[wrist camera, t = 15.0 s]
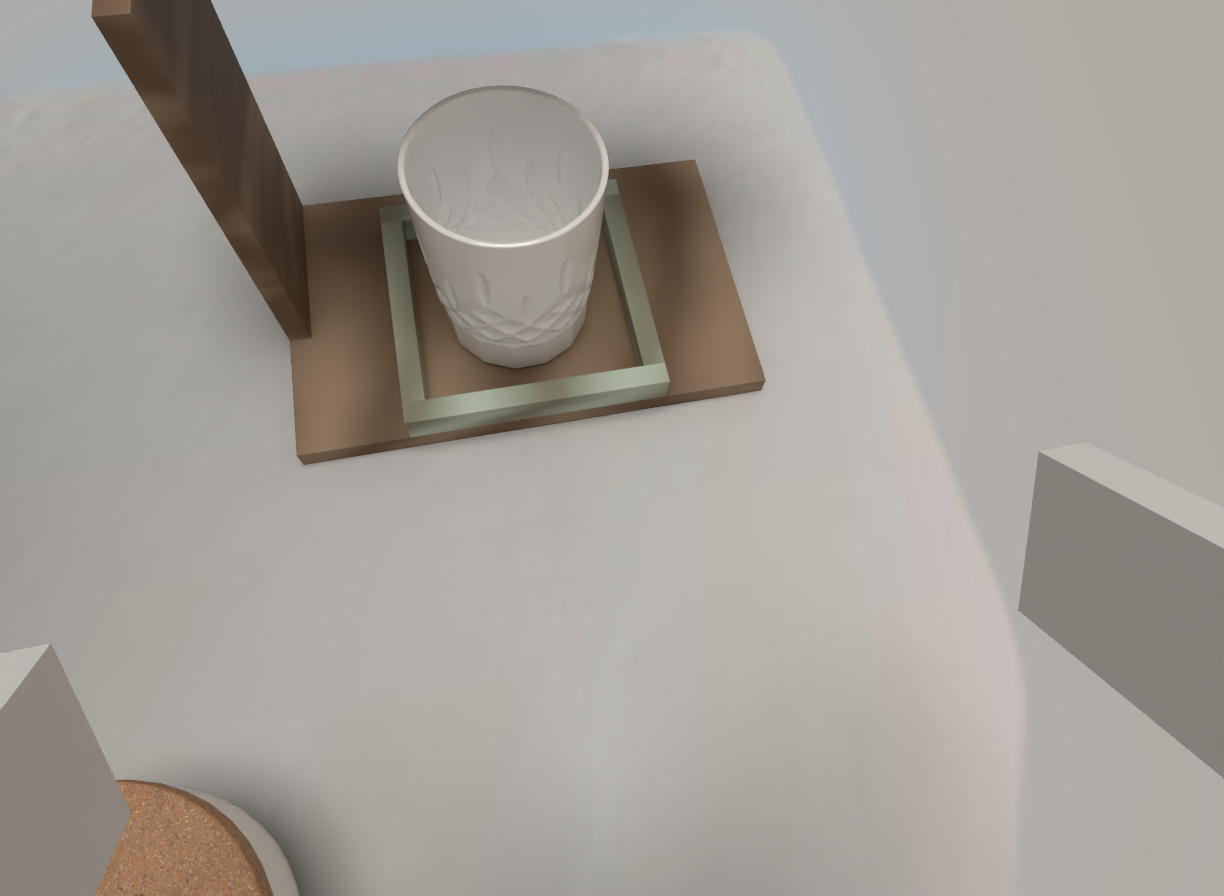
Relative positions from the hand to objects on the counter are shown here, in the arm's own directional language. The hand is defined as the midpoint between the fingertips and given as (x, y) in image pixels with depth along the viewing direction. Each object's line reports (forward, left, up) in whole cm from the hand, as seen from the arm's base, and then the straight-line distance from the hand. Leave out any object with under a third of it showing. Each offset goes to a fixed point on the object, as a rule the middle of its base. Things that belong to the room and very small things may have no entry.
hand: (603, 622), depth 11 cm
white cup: (+1, +20, -22) cm, 30 cm away
